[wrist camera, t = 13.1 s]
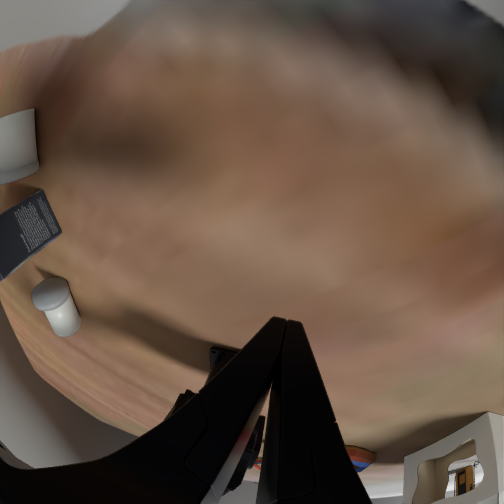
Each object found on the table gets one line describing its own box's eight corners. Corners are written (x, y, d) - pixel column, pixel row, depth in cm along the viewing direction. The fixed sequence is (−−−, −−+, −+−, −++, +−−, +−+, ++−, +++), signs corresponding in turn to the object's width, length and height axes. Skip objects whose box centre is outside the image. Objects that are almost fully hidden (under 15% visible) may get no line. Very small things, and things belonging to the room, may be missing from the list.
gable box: (434, 459, 40) (429, 554, 16) (402, 457, 39) (391, 566, 16) (510, 415, 27) (519, 526, 4) (488, 410, 27) (497, 544, 4)
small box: (35, 251, 31) (-13, 291, 22) (16, 213, 29) (-35, 248, 20) (64, 234, 27) (2, 283, 18) (42, 186, 25) (-25, 227, 16)
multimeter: (469, 470, 47) (470, 514, 30) (449, 475, 49) (448, 521, 32) (493, 455, 39) (496, 504, 23) (473, 461, 42) (474, 513, 25)
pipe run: (89, 320, 35) (66, 347, 30) (64, 308, 36) (42, 332, 31) (44, 105, 19) (-1, 117, 14) (20, 113, 20) (-19, 125, 15)
